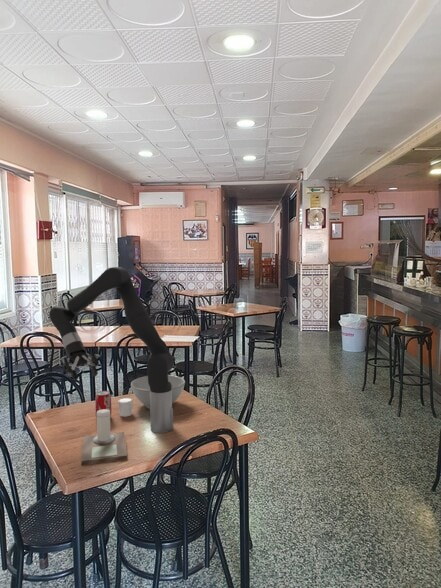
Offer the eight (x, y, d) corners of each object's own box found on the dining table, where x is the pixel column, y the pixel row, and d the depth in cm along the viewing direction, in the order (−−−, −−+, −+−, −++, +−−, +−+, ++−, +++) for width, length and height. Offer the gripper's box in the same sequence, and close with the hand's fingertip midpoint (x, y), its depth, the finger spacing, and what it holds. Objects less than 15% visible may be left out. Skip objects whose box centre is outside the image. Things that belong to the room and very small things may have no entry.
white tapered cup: (120, 418, 197) (119, 403, 196) (116, 413, 203) (116, 399, 202) (134, 415, 200) (134, 401, 199) (130, 410, 206) (130, 396, 205)
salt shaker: (110, 435, 173) (109, 408, 172) (111, 440, 168) (110, 413, 167) (97, 436, 172) (96, 410, 171) (97, 441, 167) (96, 414, 166)
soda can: (102, 422, 192) (101, 396, 191) (92, 418, 196) (91, 393, 195) (114, 417, 198) (114, 392, 197) (105, 414, 202) (104, 389, 201)
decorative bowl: (169, 393, 232) (169, 372, 231) (195, 407, 210) (194, 383, 209) (123, 403, 217) (122, 380, 216) (144, 419, 195) (144, 393, 194)
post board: (124, 435, 177) (123, 414, 177) (127, 459, 156) (126, 435, 156) (83, 440, 173) (83, 418, 172) (81, 465, 152) (80, 440, 151)
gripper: (60, 342, 177) (73, 375, 170) (91, 338, 187) (105, 369, 180) (54, 352, 181) (67, 385, 174) (85, 347, 191) (98, 378, 184)
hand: (86, 377), depth 177 cm, fingers open, 8 cm apart
